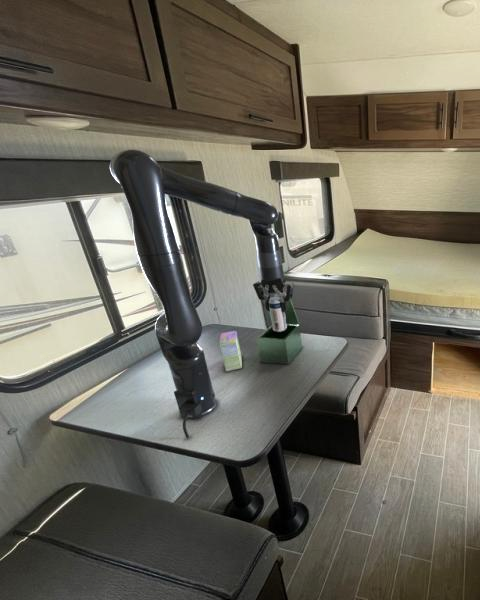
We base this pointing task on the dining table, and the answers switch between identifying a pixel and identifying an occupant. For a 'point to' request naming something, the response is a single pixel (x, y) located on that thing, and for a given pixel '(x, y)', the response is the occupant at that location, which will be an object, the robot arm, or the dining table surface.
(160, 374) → the dining table surface
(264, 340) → the trash bin
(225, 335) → the box
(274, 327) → the beer can
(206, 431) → the dining table surface
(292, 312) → the bin lid
